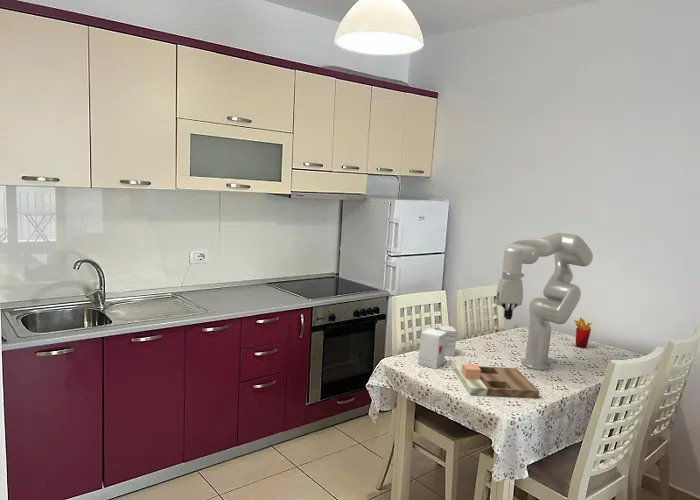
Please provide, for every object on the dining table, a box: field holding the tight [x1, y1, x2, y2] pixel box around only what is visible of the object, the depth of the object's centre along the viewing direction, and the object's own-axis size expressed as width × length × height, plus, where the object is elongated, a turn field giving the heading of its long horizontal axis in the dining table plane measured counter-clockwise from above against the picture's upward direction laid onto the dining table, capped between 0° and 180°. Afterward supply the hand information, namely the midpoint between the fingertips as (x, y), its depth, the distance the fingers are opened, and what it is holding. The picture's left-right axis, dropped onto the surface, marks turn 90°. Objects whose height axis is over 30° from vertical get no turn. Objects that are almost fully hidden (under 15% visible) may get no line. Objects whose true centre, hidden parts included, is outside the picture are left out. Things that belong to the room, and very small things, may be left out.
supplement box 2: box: [437, 325, 458, 357], centre depth 245 cm, size 7×7×13 cm
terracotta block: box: [462, 363, 481, 379], centre depth 211 cm, size 6×6×4 cm
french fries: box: [574, 317, 593, 349], centre depth 272 cm, size 9×8×15 cm
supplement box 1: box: [417, 327, 447, 370], centre depth 229 cm, size 9×9×15 cm
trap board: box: [454, 364, 540, 399], centre depth 212 cm, size 27×24×3 cm
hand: (507, 318), depth 220 cm, fingers closed
